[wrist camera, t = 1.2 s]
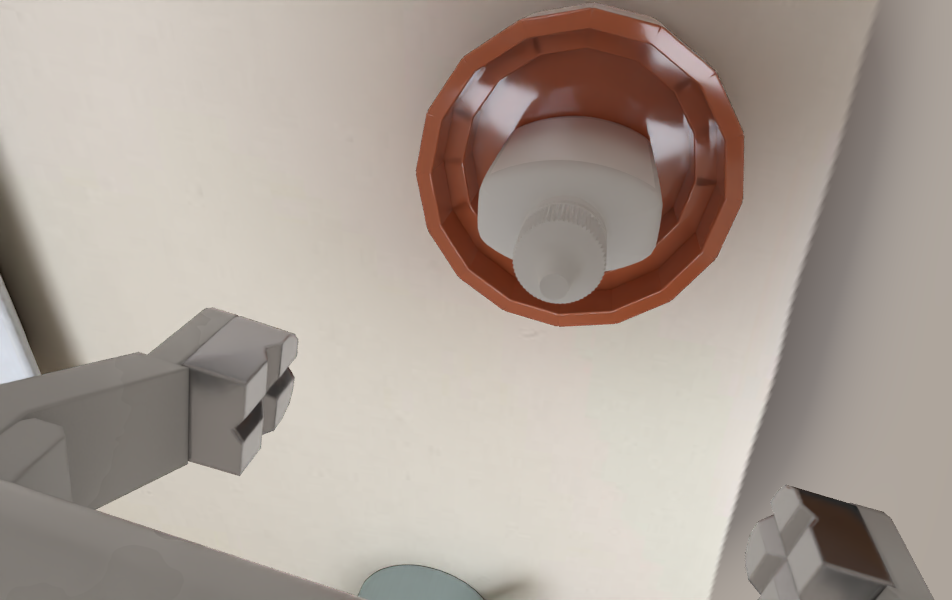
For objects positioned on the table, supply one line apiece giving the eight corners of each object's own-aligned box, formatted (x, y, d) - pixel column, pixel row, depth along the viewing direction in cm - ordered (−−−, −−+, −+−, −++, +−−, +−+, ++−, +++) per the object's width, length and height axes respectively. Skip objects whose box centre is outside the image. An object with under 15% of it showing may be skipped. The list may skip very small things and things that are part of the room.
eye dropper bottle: (550, 70, 24) (503, 145, 14) (670, 151, 25) (711, 282, 14) (491, 164, 26) (411, 290, 16) (603, 236, 27) (596, 406, 16)
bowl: (479, -30, 24) (452, -30, 20) (773, 48, 23) (807, 64, 19) (424, 237, 29) (395, 278, 25) (661, 307, 28) (669, 360, 25)
